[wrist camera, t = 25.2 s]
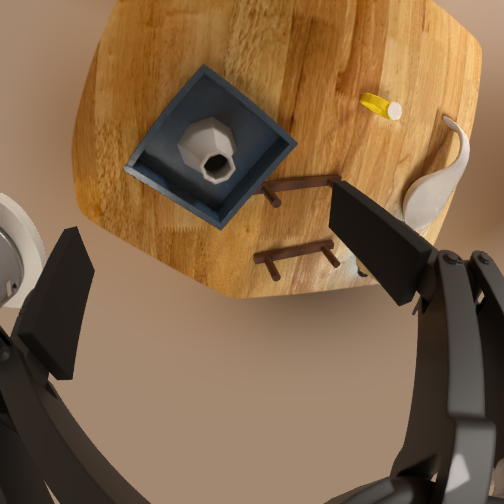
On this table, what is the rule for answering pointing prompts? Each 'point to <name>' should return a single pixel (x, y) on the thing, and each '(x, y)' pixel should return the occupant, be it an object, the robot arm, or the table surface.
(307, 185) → the drying rack
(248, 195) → the basin
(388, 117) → the watch
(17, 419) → the robot arm
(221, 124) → the flask
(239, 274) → the table surface
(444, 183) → the spoon rest
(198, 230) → the table surface
